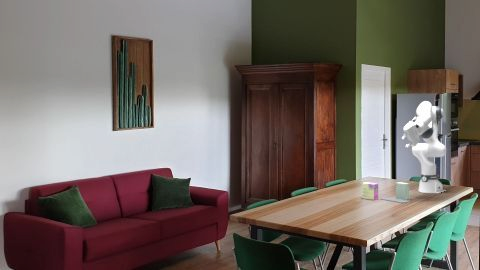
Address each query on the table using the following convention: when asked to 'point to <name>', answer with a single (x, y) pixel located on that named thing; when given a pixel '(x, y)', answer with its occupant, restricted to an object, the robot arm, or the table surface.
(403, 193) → the block
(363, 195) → the box
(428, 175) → the robot arm
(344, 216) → the table surface
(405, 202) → the mat
